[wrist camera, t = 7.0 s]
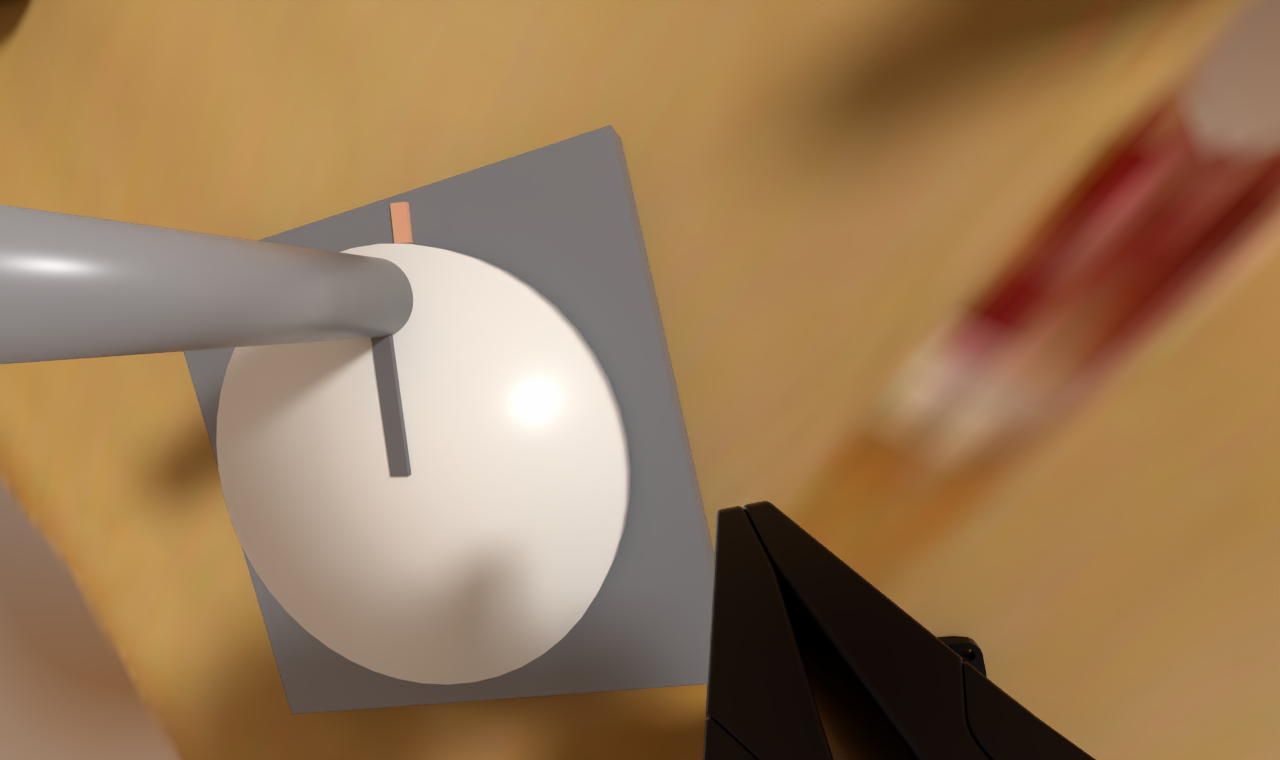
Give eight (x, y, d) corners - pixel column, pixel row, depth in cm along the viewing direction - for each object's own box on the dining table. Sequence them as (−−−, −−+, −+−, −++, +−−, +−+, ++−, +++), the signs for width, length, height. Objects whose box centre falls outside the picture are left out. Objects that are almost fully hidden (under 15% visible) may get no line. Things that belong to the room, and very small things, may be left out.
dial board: (737, 658, 23) (736, 685, 21) (316, 693, 28) (288, 717, 26) (620, 137, 21) (609, 123, 19) (193, 275, 26) (155, 272, 24)
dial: (723, 426, 20) (669, 651, 7) (483, 739, 24) (156, 1261, 11) (360, 159, 22) (-250, -76, 8) (192, 493, 26) (-399, 686, 12)
